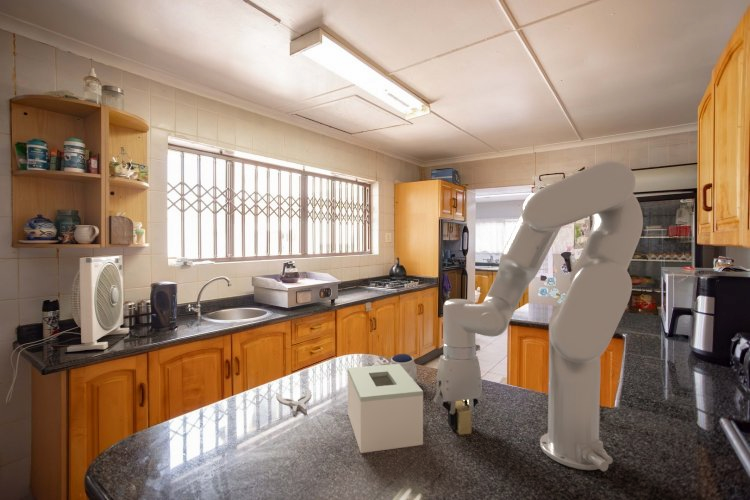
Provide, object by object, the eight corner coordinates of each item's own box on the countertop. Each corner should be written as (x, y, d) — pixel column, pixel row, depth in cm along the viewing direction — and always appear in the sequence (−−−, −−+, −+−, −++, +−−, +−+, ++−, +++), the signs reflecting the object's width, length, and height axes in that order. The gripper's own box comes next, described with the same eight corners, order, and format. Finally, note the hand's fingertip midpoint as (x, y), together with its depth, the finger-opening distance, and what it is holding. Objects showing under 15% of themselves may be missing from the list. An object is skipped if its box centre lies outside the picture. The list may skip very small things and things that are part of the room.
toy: (345, 356, 116) (401, 344, 123) (347, 384, 116) (403, 371, 124) (364, 376, 99) (428, 361, 106) (367, 409, 99) (430, 392, 107)
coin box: (422, 444, 80) (423, 391, 80) (360, 453, 77) (360, 397, 77) (399, 407, 98) (399, 363, 97) (347, 413, 94) (347, 367, 94)
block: (471, 433, 85) (471, 410, 85) (459, 435, 84) (459, 411, 84) (459, 420, 91) (459, 399, 90) (448, 422, 90) (448, 400, 90)
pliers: (309, 385, 110) (319, 406, 96) (309, 390, 110) (319, 412, 96) (275, 390, 106) (280, 412, 92) (275, 395, 106) (280, 419, 92)
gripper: (482, 344, 92) (482, 415, 93) (421, 349, 89) (422, 423, 89) (498, 353, 85) (498, 430, 86) (433, 358, 81) (434, 439, 82)
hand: (459, 426), depth 87 cm, fingers closed on block, 2 cm apart
